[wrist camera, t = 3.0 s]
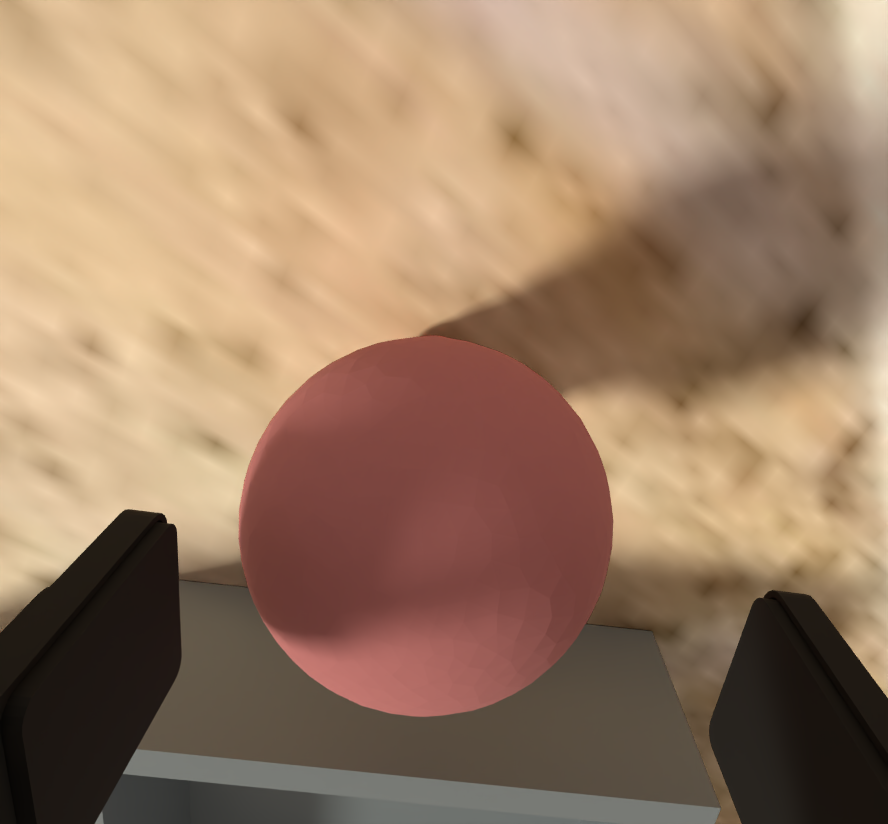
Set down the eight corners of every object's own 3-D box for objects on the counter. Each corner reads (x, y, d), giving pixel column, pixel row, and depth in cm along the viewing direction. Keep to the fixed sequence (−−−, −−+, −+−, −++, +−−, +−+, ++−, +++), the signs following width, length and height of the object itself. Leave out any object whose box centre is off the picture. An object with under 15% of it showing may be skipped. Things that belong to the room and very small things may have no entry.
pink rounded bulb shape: (462, 210, 19) (470, 318, 8) (595, 397, 21) (747, 689, 10) (278, 351, 21) (72, 602, 10) (418, 511, 23) (380, 867, 12)
